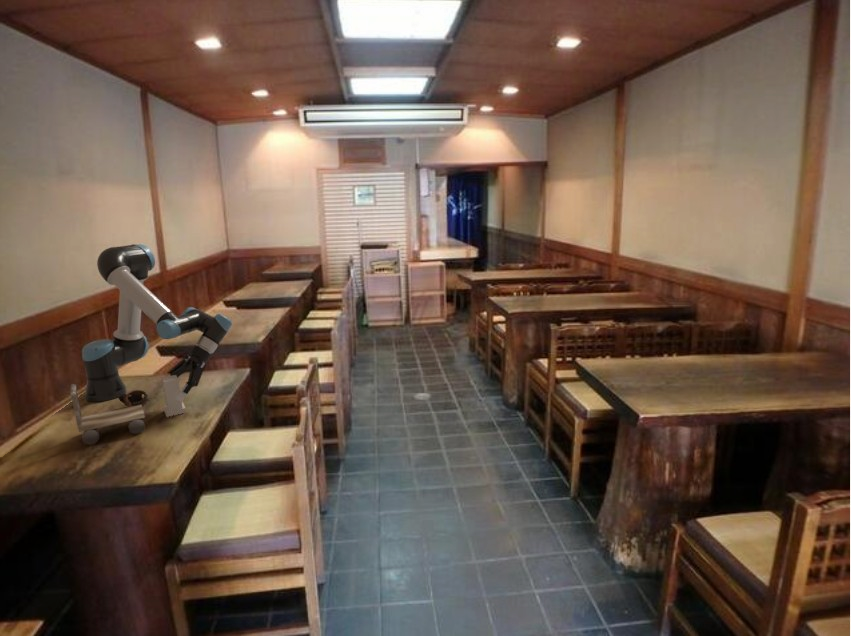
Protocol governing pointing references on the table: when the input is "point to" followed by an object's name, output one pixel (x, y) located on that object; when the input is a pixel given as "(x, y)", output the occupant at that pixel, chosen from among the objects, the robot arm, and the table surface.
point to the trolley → (106, 419)
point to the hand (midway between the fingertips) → (170, 396)
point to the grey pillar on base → (172, 396)
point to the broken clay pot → (134, 398)
